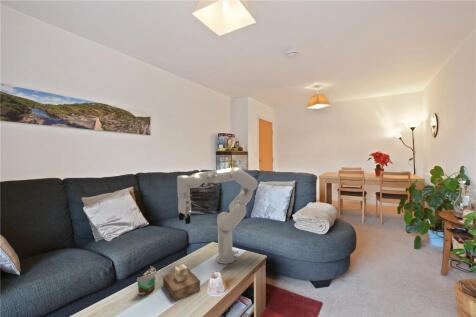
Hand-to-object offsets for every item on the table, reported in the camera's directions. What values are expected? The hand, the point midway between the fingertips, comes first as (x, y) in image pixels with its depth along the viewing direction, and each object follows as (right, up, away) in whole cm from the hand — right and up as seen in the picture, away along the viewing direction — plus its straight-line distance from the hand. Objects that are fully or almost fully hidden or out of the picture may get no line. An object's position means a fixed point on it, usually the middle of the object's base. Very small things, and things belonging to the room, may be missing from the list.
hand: (184, 221), depth 143 cm
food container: (-12, -29, -25) cm, 40 cm away
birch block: (+4, -24, -23) cm, 33 cm away
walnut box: (+4, -29, -23) cm, 37 cm away
